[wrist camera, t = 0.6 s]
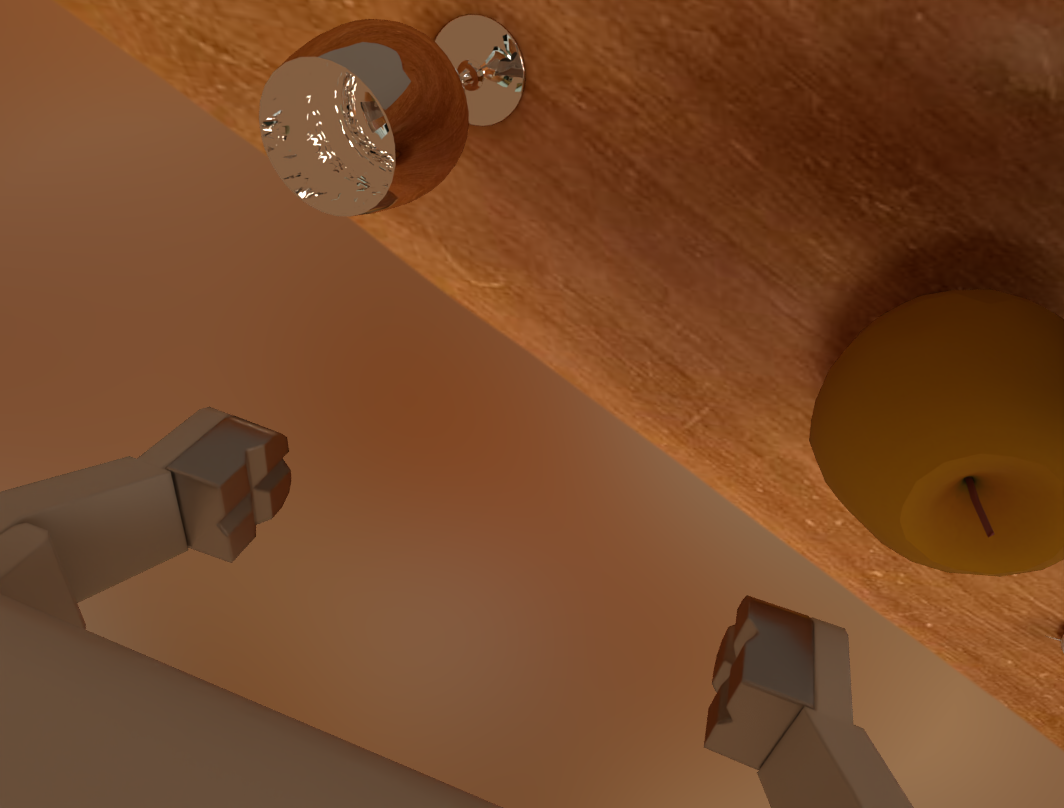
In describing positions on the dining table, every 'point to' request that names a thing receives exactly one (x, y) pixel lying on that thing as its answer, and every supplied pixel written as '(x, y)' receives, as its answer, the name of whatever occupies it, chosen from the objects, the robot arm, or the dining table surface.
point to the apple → (952, 432)
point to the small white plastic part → (1063, 642)
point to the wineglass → (385, 109)
